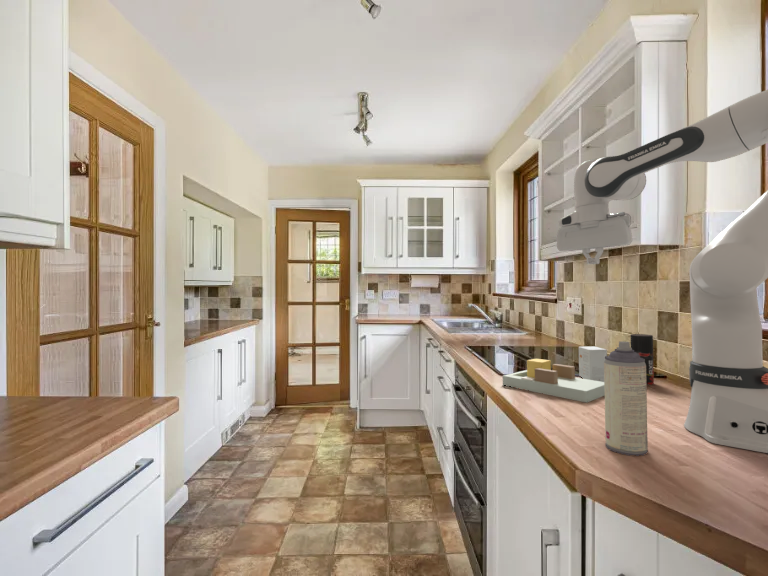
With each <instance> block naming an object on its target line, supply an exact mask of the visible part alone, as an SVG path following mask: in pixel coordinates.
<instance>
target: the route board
mask: <svg viewBox="0 0 768 576" xmlns="http://www.w3.org/2000/svg"><path fill="white" fill-rule="evenodd" d="M551 368H552V369H551V370H548V369H541V368H537V369H535V378H533V377H527V369H525V370H521V371H517V372H514V373H507V374H505V375H502V386H504V385H507V386H506V387H509V386H511V387H510V388H513V387H516V388H515V389H518V388H520V389H519V390H523V389H525V390H524V391H528V390H529V391H528V392H533V393H537V394H542V393H543V394H544V395H548V396H551V397H552V396H553V397H557V398H562V399H568V400H573V401H578V402H582V403H587V404H588V403H589V402H591V401H592V402H593V401H594V400H597V399H600V398H602V397H605V387H604V382H601V381H594V380H588V379H582V378H580V377H577V376H576V372H575V371H576V366H575V365H574V366H573V365H568V364H567V365H566V364H560V363H559V364H558V363H553V364H551Z"/></svg>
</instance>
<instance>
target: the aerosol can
mask: <svg viewBox="0 0 768 576" xmlns="http://www.w3.org/2000/svg"><path fill="white" fill-rule="evenodd" d="M644 361H645V359H643V358H640V356H639V354H638V353H636V352H634V350H632V348H631V343H630V341H618V346H617V347H616V348H614V350H613V351H611V352H610V353H609V355H607V356H606V357H605V361H604V387H605V396H604V431H605V434H604V435H605V447H606V449H608V450H609V449H610V450H609V451H610V452H614V453H616V452H617V454H620V453H621V454H620V455H624V454H626V455H625V456H630V455H636V456H635V457H639V455H642V456H645V455H644V454H646V453H647V452H648V453H649V450H648V448H649V445H648V442H649V441H648V401H647V400H648V398H647V397H648V394H647V392H648V391H647V387H648V386H647V385H646V364H645V362H644ZM648 453H647V454H648ZM647 454H646V455H647Z"/></svg>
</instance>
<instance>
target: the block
mask: <svg viewBox="0 0 768 576" xmlns="http://www.w3.org/2000/svg"><path fill="white" fill-rule="evenodd" d="M537 368H541V369H548V370H552V361H551V359H549V360H548V359H541V358H532V359H527V360H526V370H527V377H533V378H535V369H537Z"/></svg>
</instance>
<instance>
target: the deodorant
mask: <svg viewBox="0 0 768 576" xmlns="http://www.w3.org/2000/svg"><path fill="white" fill-rule="evenodd" d="M653 337H654V335H653V334H644V333H641V334H639V333H635V334H630V348H632V350H634V352H636V353H638V354H639V356H640V358H643V359H645V361H644V362H645V364H646V386H652V384H653V385H655V383H654V382H655V381H654V380H655V375H654V372H655V371H654V338H653Z"/></svg>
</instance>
